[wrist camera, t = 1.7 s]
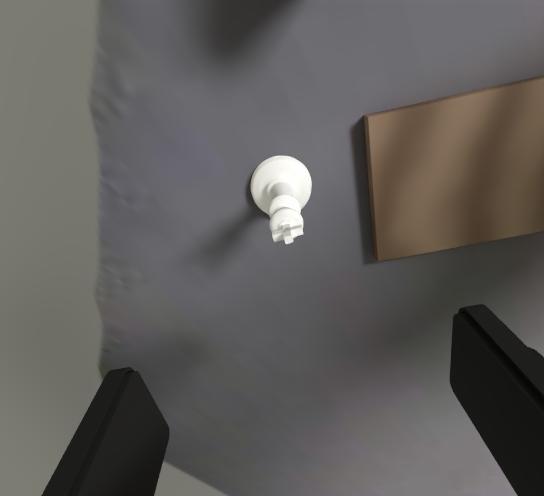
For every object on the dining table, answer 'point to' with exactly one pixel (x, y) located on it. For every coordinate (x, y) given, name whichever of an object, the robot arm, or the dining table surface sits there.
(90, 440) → the robot arm
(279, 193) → the chess piece
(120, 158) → the dining table surface
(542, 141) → the walnut board
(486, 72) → the dining table surface
